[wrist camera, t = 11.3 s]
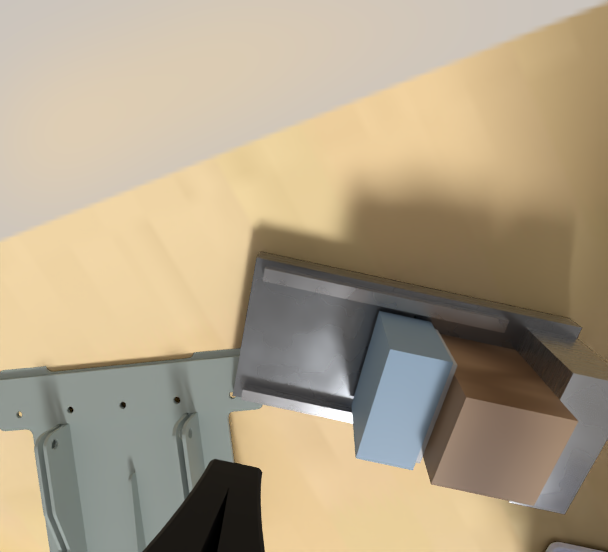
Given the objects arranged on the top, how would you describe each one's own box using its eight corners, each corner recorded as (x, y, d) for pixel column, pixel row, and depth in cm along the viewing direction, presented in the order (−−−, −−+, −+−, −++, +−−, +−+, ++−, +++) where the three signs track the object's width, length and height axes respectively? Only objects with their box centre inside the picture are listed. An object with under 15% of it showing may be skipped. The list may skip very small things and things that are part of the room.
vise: (569, 318, 19) (644, 374, 15) (511, 442, 22) (559, 523, 17) (260, 251, 19) (238, 286, 14) (236, 384, 21) (211, 450, 17)
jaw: (437, 323, 18) (461, 364, 15) (404, 416, 20) (419, 471, 17) (379, 310, 18) (390, 349, 15) (351, 404, 20) (355, 458, 17)
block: (516, 349, 19) (578, 421, 14) (485, 419, 20) (533, 506, 15) (432, 331, 19) (466, 397, 14) (407, 402, 20) (431, 484, 15)
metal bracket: (282, 630, 19) (-2, 637, 21) (296, 544, 25) (73, 555, 27) (244, 335, 19) (-43, 365, 20) (268, 316, 25) (42, 341, 26)
